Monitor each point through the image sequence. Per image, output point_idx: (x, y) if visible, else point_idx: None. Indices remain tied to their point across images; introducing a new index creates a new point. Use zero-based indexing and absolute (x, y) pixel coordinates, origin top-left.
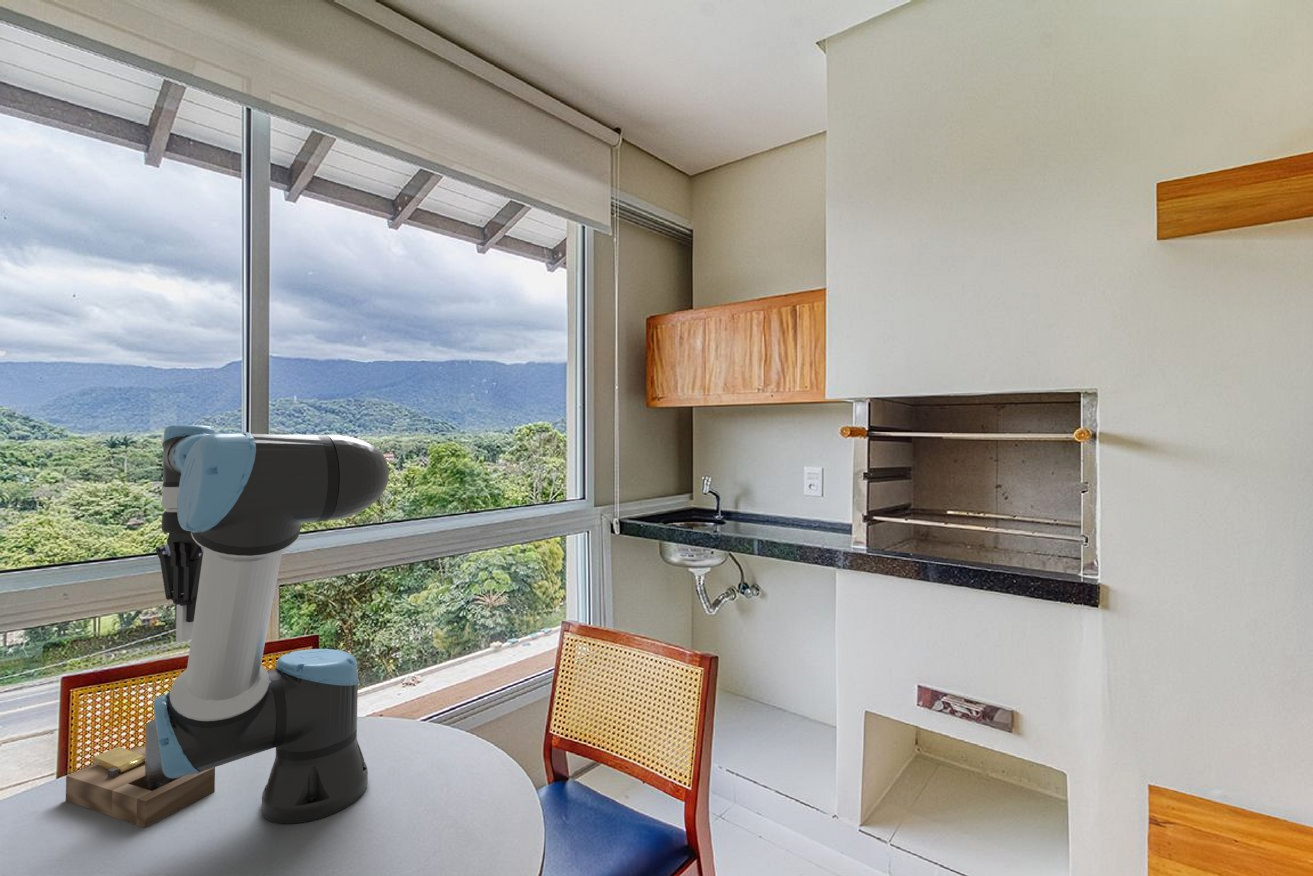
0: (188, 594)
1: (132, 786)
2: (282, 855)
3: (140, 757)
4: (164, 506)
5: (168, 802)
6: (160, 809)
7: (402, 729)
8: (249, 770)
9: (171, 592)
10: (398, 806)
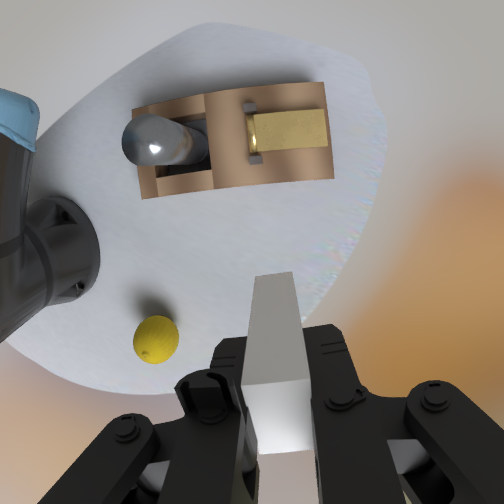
0: (173, 462)
1: (188, 112)
2: None
3: (256, 146)
4: None
5: None
6: None
7: (120, 379)
8: (171, 247)
9: (423, 440)
10: None
